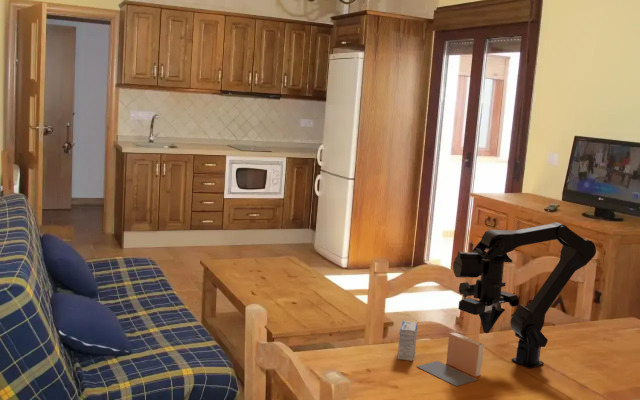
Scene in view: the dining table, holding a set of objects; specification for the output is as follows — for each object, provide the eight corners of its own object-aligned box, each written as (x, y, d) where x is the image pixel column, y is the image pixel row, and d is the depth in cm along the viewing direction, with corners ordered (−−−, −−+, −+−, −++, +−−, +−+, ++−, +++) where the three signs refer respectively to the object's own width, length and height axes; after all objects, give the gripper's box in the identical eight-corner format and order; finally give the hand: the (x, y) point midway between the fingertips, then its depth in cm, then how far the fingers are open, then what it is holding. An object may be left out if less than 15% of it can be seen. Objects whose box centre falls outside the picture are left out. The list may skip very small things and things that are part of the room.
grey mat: (437, 361, 188) (437, 360, 188) (477, 380, 177) (477, 379, 177) (416, 367, 183) (416, 366, 183) (456, 386, 172) (456, 385, 172)
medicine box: (413, 361, 186) (416, 331, 185) (397, 359, 187) (399, 329, 186) (415, 351, 194) (418, 322, 193) (399, 349, 195) (402, 320, 194)
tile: (451, 361, 188) (454, 332, 187) (480, 374, 180) (483, 344, 179) (446, 363, 187) (449, 333, 186) (474, 376, 179) (478, 345, 178)
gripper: (490, 266, 197) (484, 318, 199) (445, 274, 185) (440, 329, 188) (522, 276, 188) (516, 330, 190) (478, 284, 177) (472, 342, 179)
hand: (486, 332), depth 187 cm, fingers closed
